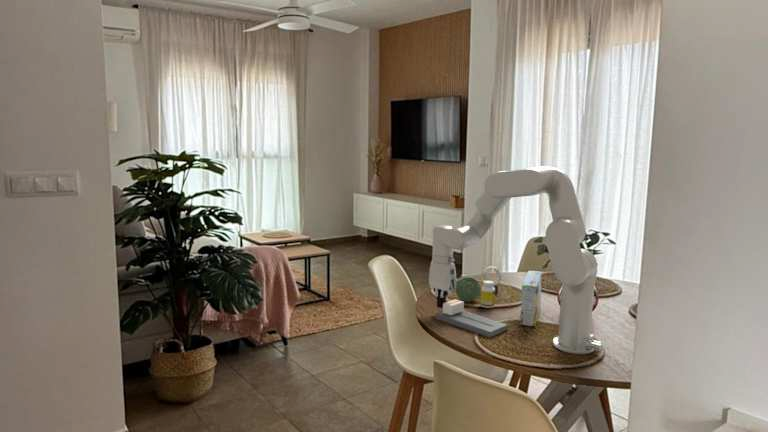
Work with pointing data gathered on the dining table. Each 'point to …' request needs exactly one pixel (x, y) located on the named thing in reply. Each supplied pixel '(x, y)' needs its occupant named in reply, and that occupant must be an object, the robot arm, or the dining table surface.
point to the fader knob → (453, 307)
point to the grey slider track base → (473, 323)
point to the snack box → (531, 298)
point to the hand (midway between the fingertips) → (441, 306)
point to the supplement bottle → (487, 294)
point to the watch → (497, 275)
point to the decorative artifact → (467, 288)
